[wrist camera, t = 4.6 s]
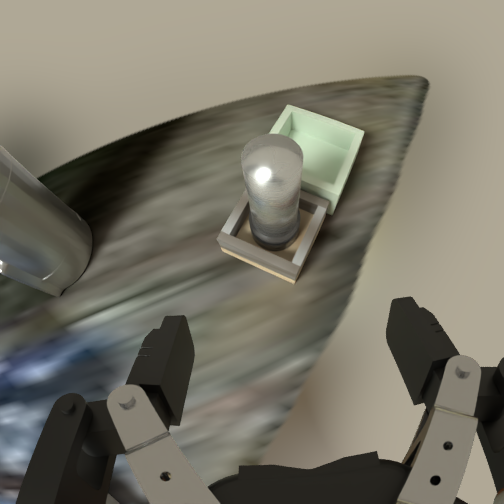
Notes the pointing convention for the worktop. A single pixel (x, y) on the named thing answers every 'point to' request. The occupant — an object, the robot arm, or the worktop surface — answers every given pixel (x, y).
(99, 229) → the worktop surface
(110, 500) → the lighter
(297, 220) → the shiny silver cylinder
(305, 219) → the socket block
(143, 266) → the worktop surface
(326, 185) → the bin
